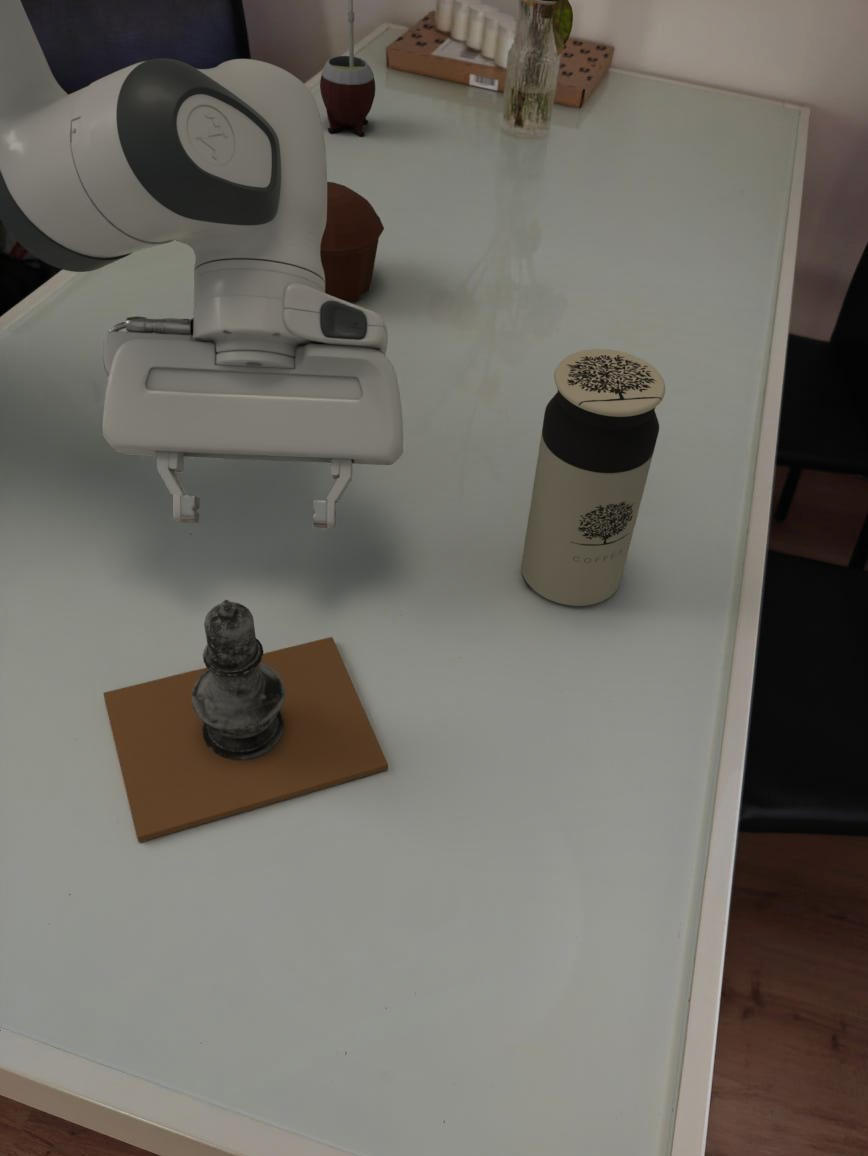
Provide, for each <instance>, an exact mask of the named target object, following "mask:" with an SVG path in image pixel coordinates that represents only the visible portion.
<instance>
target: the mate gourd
mask: <svg viewBox="0 0 868 1156" xmlns="http://www.w3.org/2000/svg"><path fill="white" fill-rule="evenodd" d="M347 22H348V51H349V54H348V55H337V56H333V57H331V58H328V59H327V61H326V62H325V64H324V66H323V68H322V70H321V73H320V74H321V76H320V81H319V89H320V96H321V99H322V102H323V105H324V108H325V109H326V116H327V120H328V123H329V127H328V128H327V132H328V133H329V134H337V133H340V132H344V131H345V132H346V131H349V132H350V133H352V134H354V135H356V136H357V137H360V138H362V137H365V135H366V132H365V131H364V129H363V128H364V126H367V125H369V120H368V119H367V117H368V115H369V113H370V112H371V110H372V107H373V104H374V101H375V96H376V81H375V74H374V72H373V70H372V68H371V66H370V65H369V63H368V62H367V61H366V60H365V59H363V58H361V57H358V56H357V57H356V56H355V49H354V47H355V44H354V43H355V40H354V22H355V12H354V0H348V12H347Z"/></svg>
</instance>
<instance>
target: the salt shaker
mask: <svg viewBox="0 0 868 1156" xmlns="http://www.w3.org/2000/svg"><path fill="white" fill-rule="evenodd" d="M203 622H204V623H203V625H204V632H205V638H206V645H205V647H204V649H203V651H202V652H203V653H202V660H203V664H204V665H205V668H208V670H207V671H205V672H204V673H203V674H202V675H201V676H200V677H199V678H198V680H197V681H196V683H195V685H194V687H193V690H192V695H191V700H192V706H193V709H194V711H195V712H196V714H197V716H198V717H199V718H200V719H201V720H202V721H203V727H202V732H203V738H204V741H205V743H206V744H207V746H208V747H209V748H210V749H211V750H212V751H213V752H214V753H216V754H218V755H219V756H221V757H224V758H228V759H232V760H247V759H252V758H256V757H258V756H261V755H263V754H265V753H267V752H268V751H269V750H271V749H272V748H273V747H274V746H275V745H276V744H277V743H278V742H279V740H280V738H281V736H282V734H283V728H284V722H283V717H282V714H281V713H280V711H279V710H280V709H281V707H282V705H283V703H284V701H285V693H286V690H285V685H284V681H283V680H282V678H281V676H280V675H279V673H278V672H277V671H275V670H274V669H273V668H272V667H271V666H268V665H266V664H264V663H262V662H261V660H262V658H263V654H264V648H263V645H262V643H261V641H260V640H259V639H258V638H257V637H256V629H255V620H254V616H253V614H252V612H251V610H250V609H249V608H247V607H246V605H243V604H241V603H239V602H235V601H230V600H228V599H224V600H223V601H222V602H221V603H218V604H216V605H215V606H213V607H212V608H211V609H210V610H209V611H207V613H206V615H205V618H204V621H203Z"/></svg>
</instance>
